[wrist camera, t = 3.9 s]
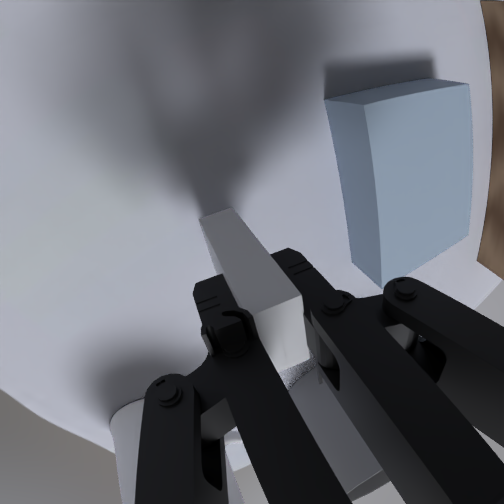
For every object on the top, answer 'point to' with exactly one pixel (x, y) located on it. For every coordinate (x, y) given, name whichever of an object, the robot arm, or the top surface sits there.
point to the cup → (337, 437)
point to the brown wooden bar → (495, 144)
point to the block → (403, 172)
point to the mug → (127, 445)
